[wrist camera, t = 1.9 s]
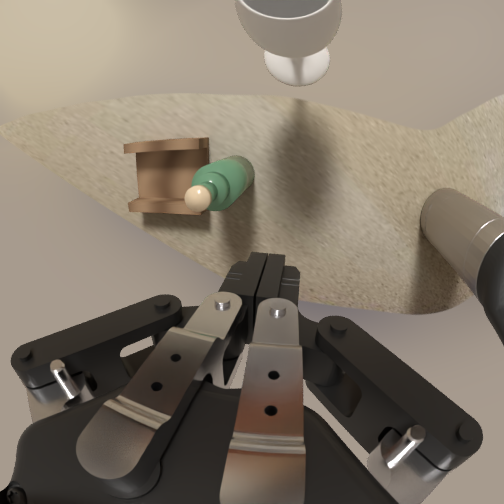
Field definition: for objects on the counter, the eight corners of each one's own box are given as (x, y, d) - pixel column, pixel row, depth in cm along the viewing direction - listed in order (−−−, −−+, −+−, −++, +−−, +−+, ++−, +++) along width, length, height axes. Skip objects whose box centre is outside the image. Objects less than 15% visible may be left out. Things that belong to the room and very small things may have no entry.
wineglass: (325, 92, 31) (347, 46, 12) (260, 81, 32) (208, 31, 13) (333, 37, 27) (355, -46, 8) (269, 27, 28) (229, -56, 9)
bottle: (254, 156, 36) (223, 171, 23) (254, 192, 39) (224, 228, 25) (218, 155, 37) (169, 171, 24) (218, 190, 39) (173, 224, 26)
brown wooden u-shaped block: (208, 137, 36) (198, 138, 33) (209, 207, 41) (200, 215, 37) (137, 142, 38) (123, 144, 35) (141, 204, 43) (129, 211, 39)
